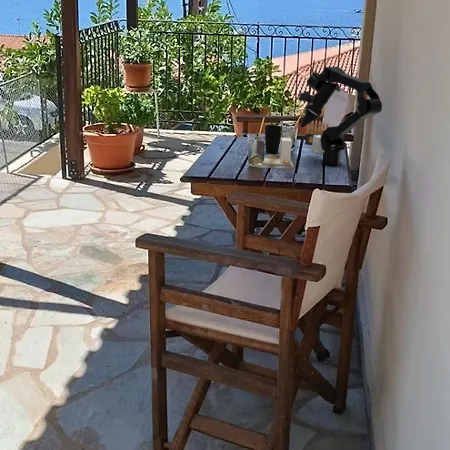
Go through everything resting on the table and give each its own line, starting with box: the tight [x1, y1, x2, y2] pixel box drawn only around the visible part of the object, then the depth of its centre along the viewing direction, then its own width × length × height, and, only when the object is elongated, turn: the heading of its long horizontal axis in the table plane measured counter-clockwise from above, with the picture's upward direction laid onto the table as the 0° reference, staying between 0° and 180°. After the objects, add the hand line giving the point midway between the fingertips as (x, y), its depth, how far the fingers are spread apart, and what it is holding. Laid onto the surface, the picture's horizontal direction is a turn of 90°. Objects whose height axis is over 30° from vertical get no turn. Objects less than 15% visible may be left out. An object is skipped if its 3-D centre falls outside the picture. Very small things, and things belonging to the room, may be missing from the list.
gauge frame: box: [253, 136, 295, 170], centre depth 266 cm, size 16×12×10 cm
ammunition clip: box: [304, 119, 330, 146], centre depth 303 cm, size 11×2×12 cm, turn 68°
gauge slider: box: [278, 137, 293, 164], centre depth 266 cm, size 4×10×9 cm, turn 1°
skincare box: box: [311, 135, 325, 155], centre depth 291 cm, size 6×6×7 cm
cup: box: [264, 124, 283, 155], centre depth 284 cm, size 8×8×12 cm
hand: (301, 126), depth 270 cm, fingers open, 9 cm apart
